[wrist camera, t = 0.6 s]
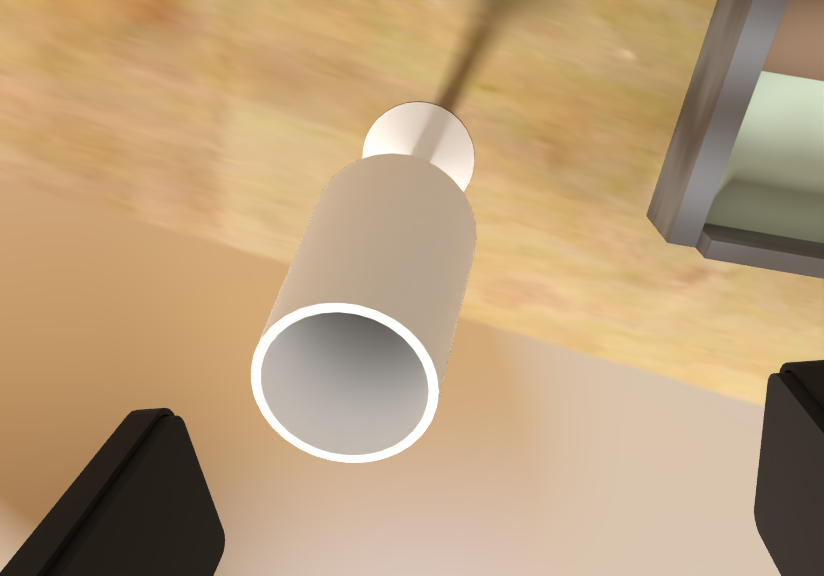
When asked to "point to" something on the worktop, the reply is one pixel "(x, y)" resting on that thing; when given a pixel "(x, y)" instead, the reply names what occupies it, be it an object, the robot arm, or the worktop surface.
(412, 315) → the champagne flute
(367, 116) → the worktop surface
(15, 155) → the worktop surface
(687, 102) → the tray
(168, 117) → the worktop surface
